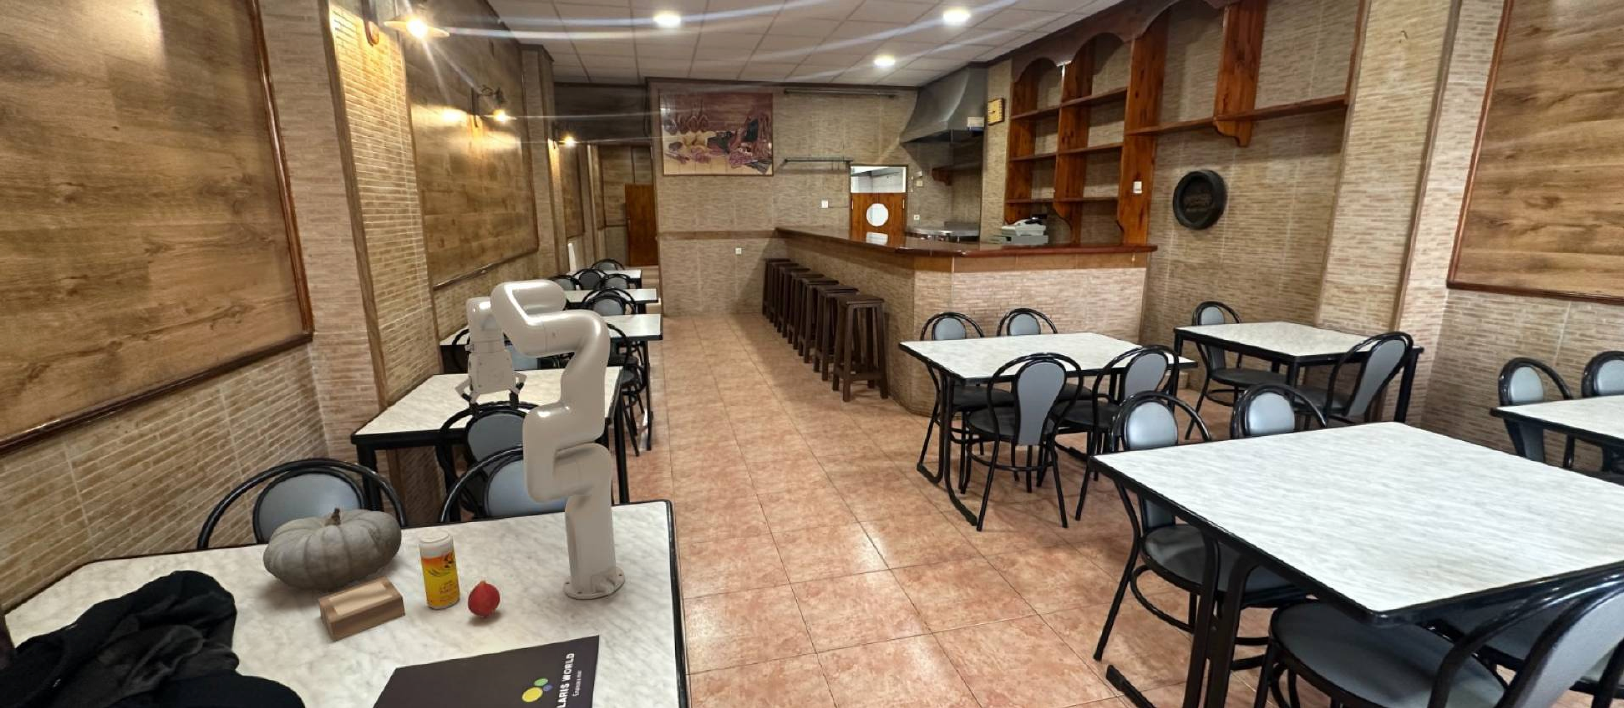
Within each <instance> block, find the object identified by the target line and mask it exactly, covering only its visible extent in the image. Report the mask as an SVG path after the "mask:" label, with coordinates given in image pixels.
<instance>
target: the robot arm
mask: <svg viewBox="0 0 1624 708" xmlns="http://www.w3.org/2000/svg"><path fill="white" fill-rule="evenodd" d="M566 304H567V295H566V292H565V290H564V288H563V287H562V286H561V285H560V284H558V283H557V282H555V281H552V280H550V279H543V278H542V279H541V278H539V279H530V280H529V279H527V280H516V281H515V280H514V281H505V282H502V283H499V284H498V285H495V287H494V288H493V289H492V292H490V296H479V297H478V296H477V297H472V298H468V299H467V300H466V303H465V308H466V315H467V326H468V333H469V340H470V341H469V344H465V345H464V348H465V351H469V352H470V353H469V355H468V363H467V377H468V378H467V379H465V380H463V381H462V382H461V383H459V384H458V385H456V386H455V387H454V390H455V391H456V393H457V394H458V395H459V397H460V398H461V399H462V400H465V401H466V402H468V409H469V414H470V416H471V417H472V418H474V419H480V418H481V416H480V415H481V414H480V406H479V402H477V400H478V399H479V398H480V396H481V395H483V396H485V395H489V394H495V393H499V392H504V391H509V393H508V399H509V406H510V409H513V410H515V411H517V410H519V406H520V399H519V394H520V393H521V390H522V389H523V387H524V386H525V382H526V380H527V378H528V377H527V374H524V373H520V372H518V371H515V368H514V362H513V360H512V359H513V358H512V356H511V353H510V351H509V349H506V346H505V339H504V338H505V337H504V334H505V335H506V337H507V338H508V340H509V341H510V343H511V345H512V346H513V347H514V349H515V350H516V351H517V353H519V354H520V355H521V356H522V357H526V358H529V359H535V358H536V359H538V358H544V357H549V356H555V355H557V356H558V355H562V354H567V353H573V352H574V355H573V356H572V357H571V359H570V360H568V362H567V364H566V366H565V368H564V370H563V371H562V374H561V377H560V380H559V381H560V382H559V383H560V397H559V399H558V400H557V401H555V402H552V403H551V402H550V403H547V404H542V405H538V406H536V407H533V408H532V409H530V410H529V411H528V412H527V413H526V414H525V417H524V419H523V423H522V449H523V450H522V452H523V473H524V475H523V476H524V484H525V488H526V492H527V494H528V497H530V499H531V501H533V502H535V503H537V504H541V505H543V504H549V503H552V502H557V501H559V500H562V499H566V498H568V499H567V500H566V504H565V509H564V524H565V535H566V543H567V555H568V562H569V563H568V564H569V573H570V575H569V576H567V578H566V579H565V580H564V582H563V590H564V593H565V594H566V595H567V596H569V597H570V598H572V599H579V600H591V599H597V598H601V597H605V596H607V595H611V594H612V593H614V592H615V591H616V590H618V589H620V587H622V585H623V584H624V583H625V578H626V577H625V572H624V570H622V569H621V568H620V567H618V566H617V560H616V548H615V537H614V535H615V534H614V525H613V524H614V522H613V512H612V511H613V508H612V479H613V471H614V464H613V463H614V462H613V457H612V454H611V452H610V451H609V450H608V448H607V447H605V446H604V445H602V444H599V443H595V442H593V441H596V440H597V439H598V438H600V437H601V436H602V435H603V434H604V430H605V425H606V424H605V423H606V389H605V388H606V383H605V382H606V381H605V380H606V371H607V366H608V362H609V358H610V352H611V351H610V350H611V335H610V331H609V328H608V324H607V321H605V319H604V317H603V316H602V315H601V314H600V313H598V312H596V311H593V310H590V309H568V310H564V308H565V306H566ZM517 378H518V380H517ZM467 387H469V391H470V392H469V393H468V394H467V393H466V391H465V389H466V388H467ZM591 442H593V443H591Z"/></svg>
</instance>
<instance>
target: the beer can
mask: <svg viewBox="0 0 1624 708" xmlns="http://www.w3.org/2000/svg"><path fill="white" fill-rule="evenodd" d="M419 540H420V541H419V543H418V548H419V555H420V563H421V564H420V565H421V571H422V577H423V583H424V590H425V597H426V604H427V606H429V607H430V608H431V609H435V610H443V609H446V608H449V607H451V606H453V605H455V604H456V603H457V602H458V601H459V599H460V597H461V589H460V583H459V575H458V568H457V561H456V560H457V559H456V553H455V547H454V545H455V544H454V538H453V535H452V533H450V531H449V530H445V529H444V530H443V529H441V530H440V529H439V530H434V531H430V532H428V533H426V534H424V535H422V536H421V537H420V539H419Z"/></svg>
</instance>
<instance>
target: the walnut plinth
mask: <svg viewBox="0 0 1624 708" xmlns="http://www.w3.org/2000/svg"><path fill="white" fill-rule="evenodd" d="M317 600H318V607H319V613H320V617H321V619H322V621H323V624H324V625H325V626H326V629H327V630H328V633H329V634H330V636H331V638H332V639H333V642H334V643H335V642H337V641H340V640H343V639H346V638H348V637H351V636H353V635H356V634H359V633H361V632H363V631H366V630H369V629H371V628H374V627H377V626H379V625H380V626H381V625H382V624H384V623H387V622H390V621H392V620H396V619H398V618H401V617H403V616H405V615H406V609H405V604H404V603H405V602H404V597H403V595H402V594H401V593H400V591H399V590H398V589H397V588H396V587H395V585H394V584H393V583H392V581H391V580H390V579H389V578H388V577H387V575H385V576H382V577H378V578H376V579H373V580H369V581H367V582H364V583H361V584H359V585H358V584H357V585H356V586H352V587H349V588H346V589H343V590H340V591H338V592H333V593H332V594H329V595H326V596H323V597H319V598H317Z"/></svg>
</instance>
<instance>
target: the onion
mask: <svg viewBox="0 0 1624 708" xmlns="http://www.w3.org/2000/svg"><path fill="white" fill-rule="evenodd" d="M500 603H501V593H500V591H499V589H497V587H496V586H494V585H492V584H491V583H487V582H486V580H485V579H482V580H480V581H479V583H478V584H477V585H475V586H474V588H472V590H471V591H470V593H469V595H468V598H467V607H468V610H469V612H470V613H471V614H472V615H475V616H477V617H483V618H488V617H490V616H491V615H492V614H493V613H494V611H496V609H497V608H498V607H499V605H500Z"/></svg>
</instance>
